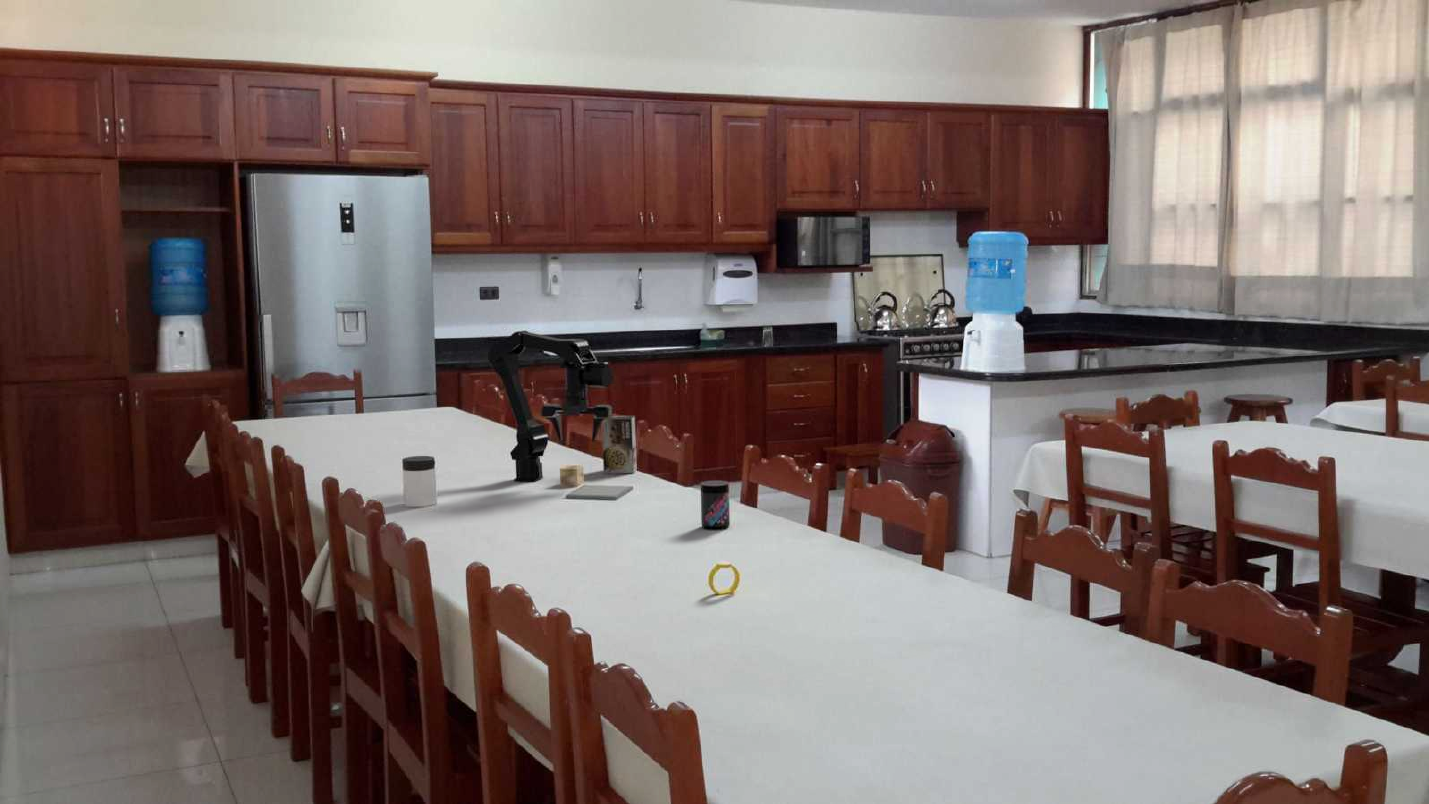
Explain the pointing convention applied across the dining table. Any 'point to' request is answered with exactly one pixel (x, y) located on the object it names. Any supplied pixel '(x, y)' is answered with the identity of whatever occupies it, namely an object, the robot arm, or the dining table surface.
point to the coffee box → (619, 444)
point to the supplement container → (715, 505)
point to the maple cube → (571, 476)
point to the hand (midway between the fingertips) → (577, 441)
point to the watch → (719, 565)
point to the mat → (599, 492)
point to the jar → (419, 481)
